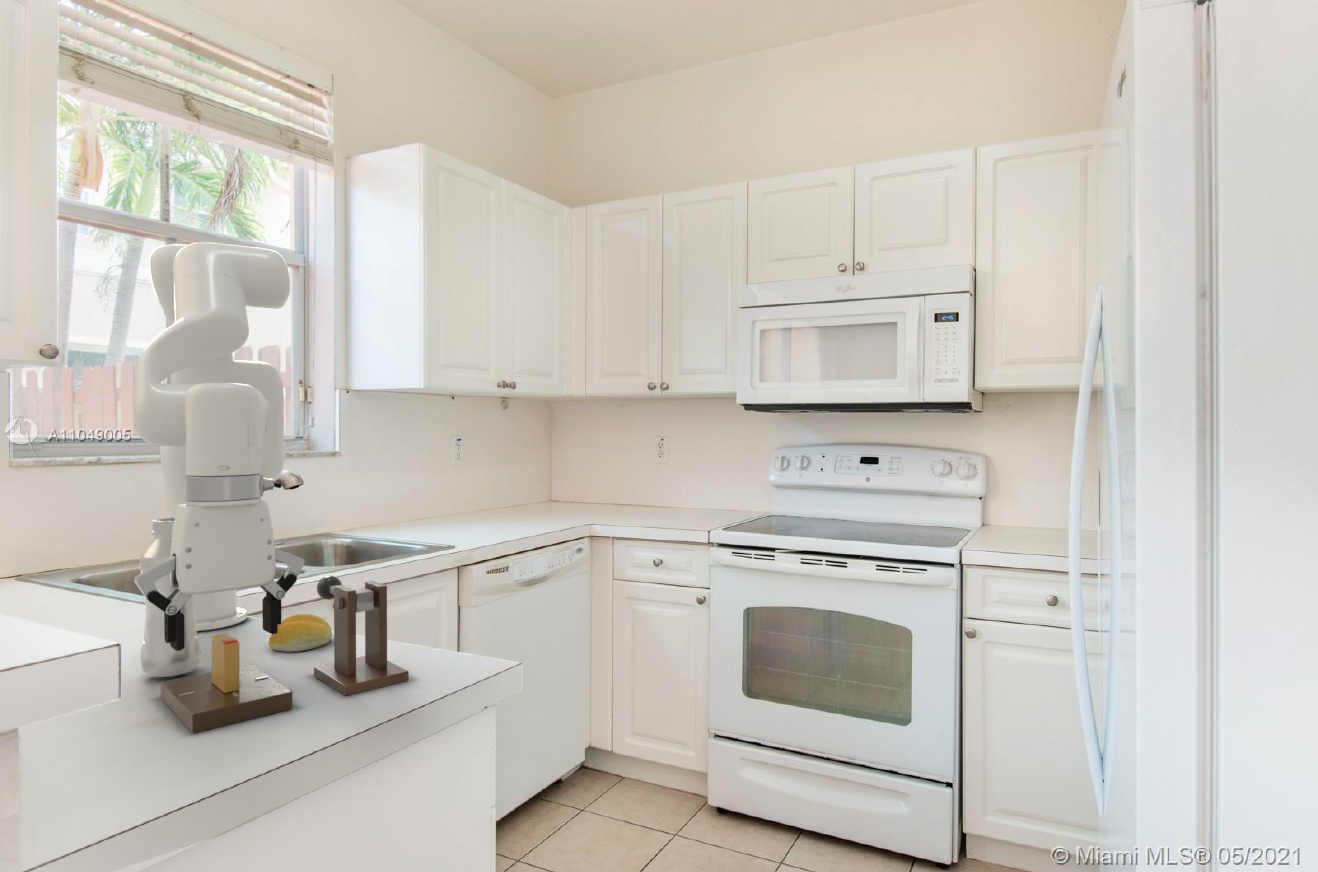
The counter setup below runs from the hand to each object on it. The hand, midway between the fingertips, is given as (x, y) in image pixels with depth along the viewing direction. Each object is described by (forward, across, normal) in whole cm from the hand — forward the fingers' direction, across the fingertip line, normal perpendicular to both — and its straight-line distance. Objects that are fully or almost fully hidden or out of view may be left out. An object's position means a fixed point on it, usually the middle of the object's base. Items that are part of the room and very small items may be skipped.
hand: (225, 639), depth 89 cm
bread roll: (+7, -15, -19) cm, 26 cm away
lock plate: (+7, 0, 0) cm, 8 cm away
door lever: (-1, -15, -3) cm, 15 cm away
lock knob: (+5, 0, 0) cm, 5 cm away
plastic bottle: (+7, +2, -16) cm, 18 cm away
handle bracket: (+7, -15, +2) cm, 17 cm away
